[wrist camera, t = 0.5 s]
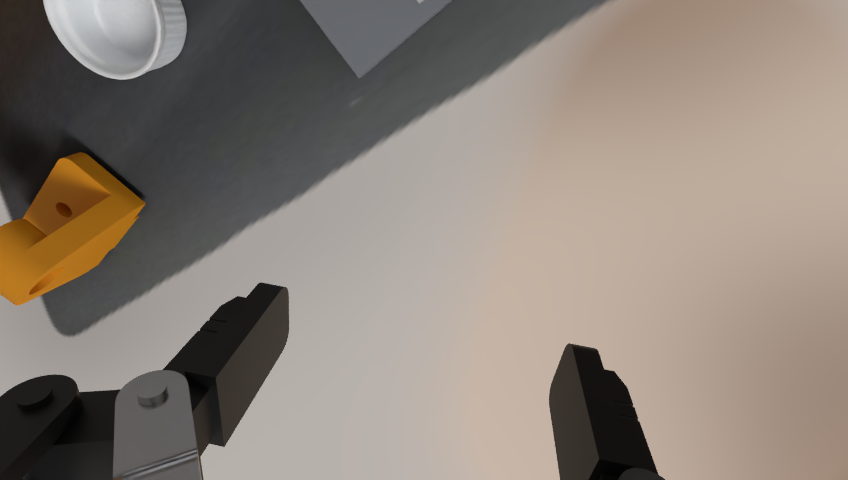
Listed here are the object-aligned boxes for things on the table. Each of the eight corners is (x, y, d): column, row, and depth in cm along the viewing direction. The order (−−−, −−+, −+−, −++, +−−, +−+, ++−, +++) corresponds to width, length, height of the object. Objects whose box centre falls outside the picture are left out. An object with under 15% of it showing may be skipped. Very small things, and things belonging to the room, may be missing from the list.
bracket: (86, 145, 41) (-52, 191, 31) (151, 200, 43) (42, 261, 33) (43, 213, 46) (-91, 274, 35) (104, 260, 48) (-6, 332, 37)
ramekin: (74, 21, 36) (25, 23, 33) (109, -82, 33) (59, -94, 29) (169, 95, 38) (134, 104, 34) (213, 5, 34) (179, 4, 31)
